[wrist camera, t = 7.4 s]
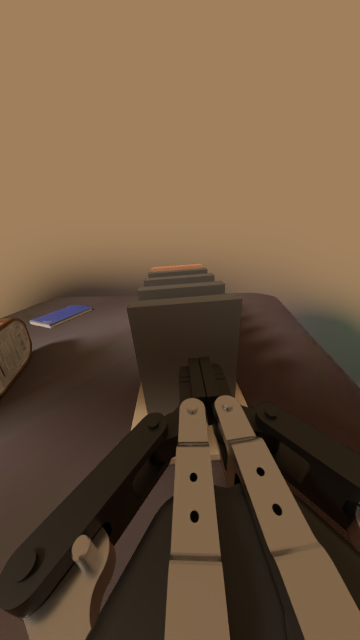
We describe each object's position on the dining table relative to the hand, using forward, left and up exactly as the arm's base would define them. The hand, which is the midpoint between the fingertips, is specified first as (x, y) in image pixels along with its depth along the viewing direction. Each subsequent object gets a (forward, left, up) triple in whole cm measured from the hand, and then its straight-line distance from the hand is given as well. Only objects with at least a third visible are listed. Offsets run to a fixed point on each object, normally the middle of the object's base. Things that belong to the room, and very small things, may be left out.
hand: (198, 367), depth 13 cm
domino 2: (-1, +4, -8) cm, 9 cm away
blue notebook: (-38, +31, -10) cm, 50 cm away
